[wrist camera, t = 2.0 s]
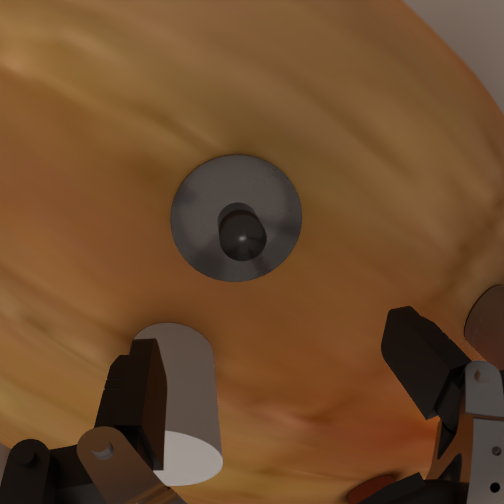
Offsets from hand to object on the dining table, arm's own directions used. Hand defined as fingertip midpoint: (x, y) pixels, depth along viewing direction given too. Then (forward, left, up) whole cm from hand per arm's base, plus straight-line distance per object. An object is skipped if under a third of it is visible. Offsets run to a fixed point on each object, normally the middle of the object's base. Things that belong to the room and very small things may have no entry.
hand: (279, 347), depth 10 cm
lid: (0, 0, -16) cm, 16 cm away
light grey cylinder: (+7, +13, -16) cm, 22 cm away
